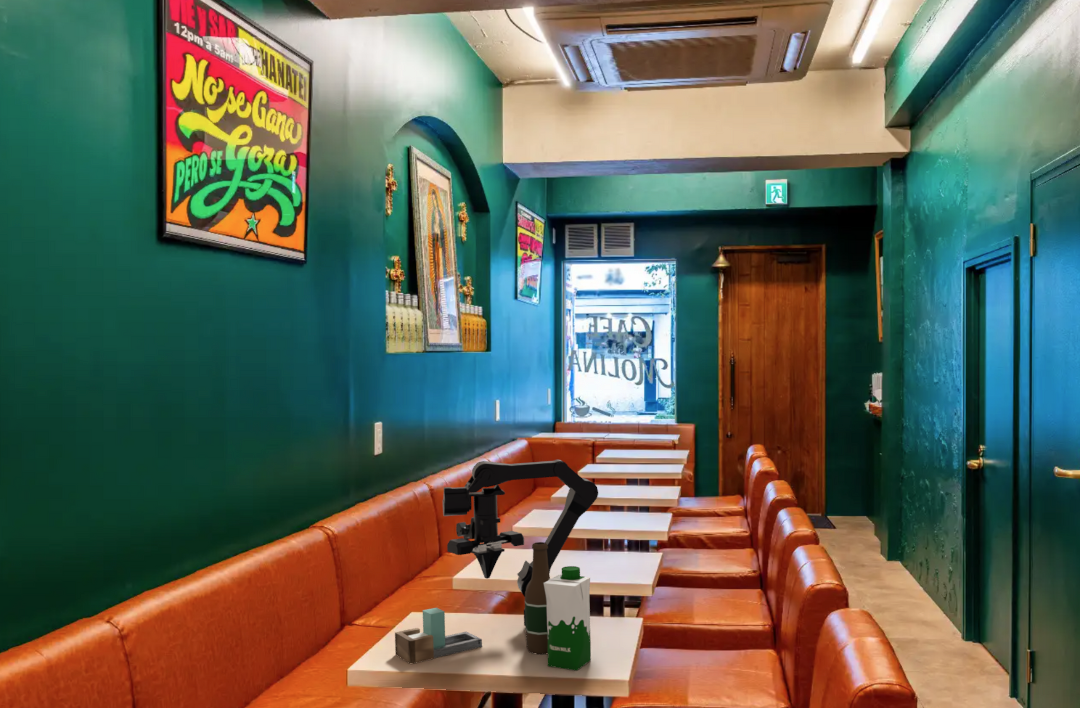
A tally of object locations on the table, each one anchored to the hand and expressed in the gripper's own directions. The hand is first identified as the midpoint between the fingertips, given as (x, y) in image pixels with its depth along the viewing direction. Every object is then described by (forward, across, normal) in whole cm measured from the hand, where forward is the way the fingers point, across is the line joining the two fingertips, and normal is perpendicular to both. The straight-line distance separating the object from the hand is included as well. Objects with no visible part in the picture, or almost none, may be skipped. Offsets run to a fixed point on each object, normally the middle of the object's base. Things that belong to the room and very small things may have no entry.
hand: (487, 578), depth 213 cm
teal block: (+13, +19, +5) cm, 24 cm away
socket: (+13, +22, +5) cm, 26 cm away
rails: (+13, +12, +5) cm, 19 cm away
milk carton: (+13, -2, +30) cm, 33 cm away
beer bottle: (+13, -3, +19) cm, 23 cm away
